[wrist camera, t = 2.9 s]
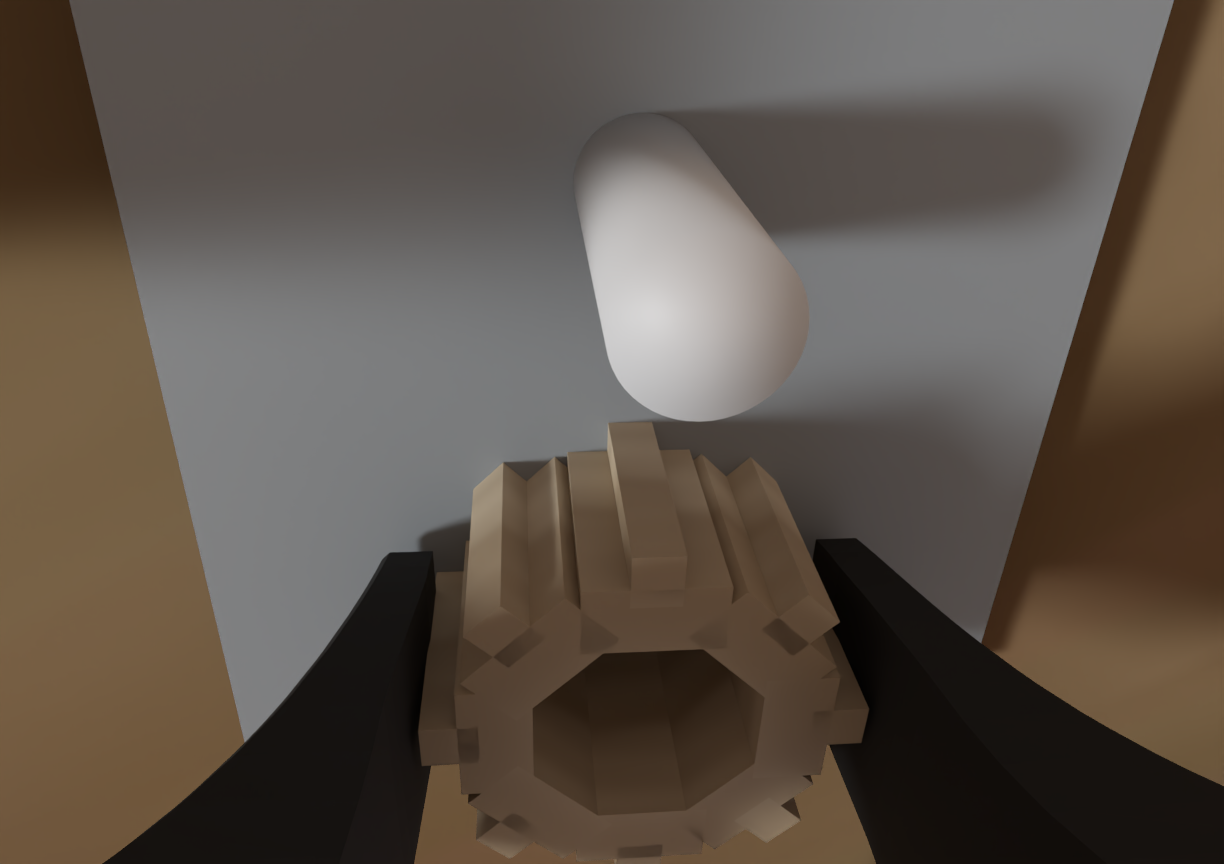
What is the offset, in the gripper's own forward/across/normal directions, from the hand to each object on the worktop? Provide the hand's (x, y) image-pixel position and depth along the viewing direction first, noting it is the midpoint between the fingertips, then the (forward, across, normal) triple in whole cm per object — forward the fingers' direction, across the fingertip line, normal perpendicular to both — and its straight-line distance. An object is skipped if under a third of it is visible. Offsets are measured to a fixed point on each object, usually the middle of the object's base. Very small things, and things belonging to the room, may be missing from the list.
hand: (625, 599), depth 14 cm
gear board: (+2, 0, -8) cm, 8 cm away
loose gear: (0, 0, 0) cm, 0 cm away
